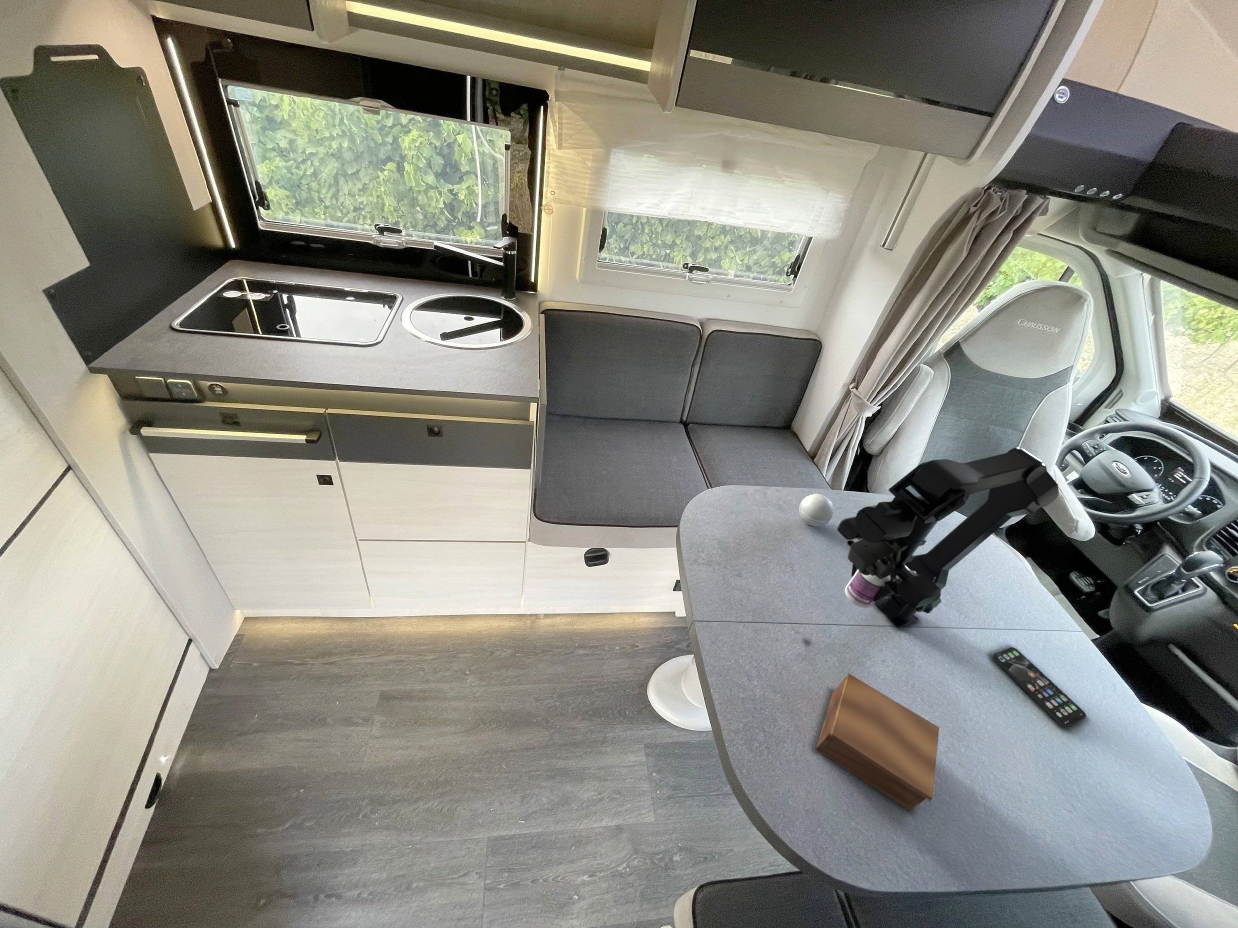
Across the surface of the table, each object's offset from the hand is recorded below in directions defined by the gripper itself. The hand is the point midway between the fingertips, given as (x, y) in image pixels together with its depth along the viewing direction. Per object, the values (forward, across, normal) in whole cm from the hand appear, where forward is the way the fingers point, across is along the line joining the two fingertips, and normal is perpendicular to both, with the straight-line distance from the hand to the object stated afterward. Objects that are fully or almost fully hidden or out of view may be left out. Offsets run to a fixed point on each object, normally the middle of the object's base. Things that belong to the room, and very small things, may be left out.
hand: (864, 588), depth 92 cm
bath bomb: (+13, -27, +16) cm, 34 cm away
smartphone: (+12, +22, +32) cm, 41 cm away
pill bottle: (+3, 0, 0) cm, 3 cm away
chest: (+12, +20, -11) cm, 26 cm away
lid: (+7, +20, -11) cm, 24 cm away
